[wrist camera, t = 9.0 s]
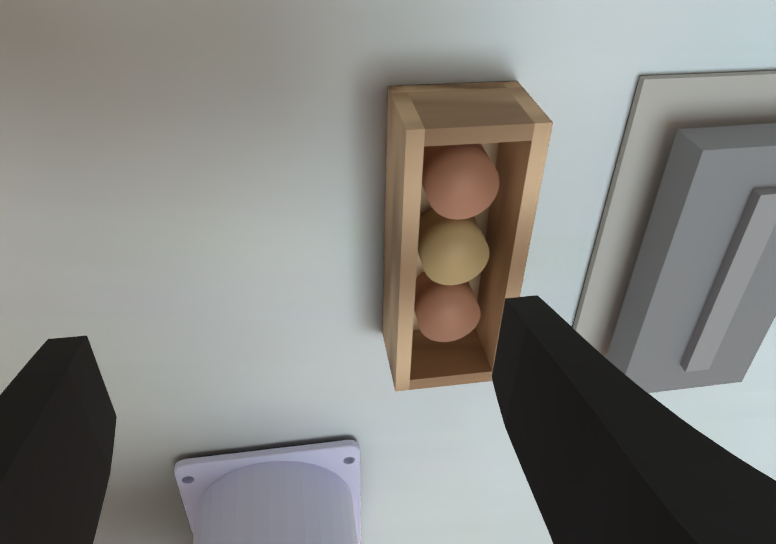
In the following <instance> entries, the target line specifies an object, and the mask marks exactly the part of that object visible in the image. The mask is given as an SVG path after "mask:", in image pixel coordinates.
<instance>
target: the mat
mask: <svg viewBox="0 0 776 544" xmlns="http://www.w3.org/2000/svg"><path fill="white" fill-rule="evenodd" d="M768 123H776V70H775V71H751V72H726V73H702V74H677V75H652V76H640V78H639V81H638V85H637V89H636V93H635V96H634V100H633V104H632V108H631V111H630V115H629V119H628V123H627V126H626V130H625V134H624V138H623V141H622V145H621V149H620V153H619V156H618V160H617V164H616V168H615V171H614V175H613V179H612V182H611V186H610V190H609V194H608V197H607V201H606V205H605V209H604V212H603V216H602V220H601V224H600V227H599V231H598V235H597V239H596V242H595V246H594V250H593V254H592V257H591V261H590V265H589V269H588V272H587V276H586V280H585V284H584V287H583V291H582V295H581V299H580V302H579V306H578V310H577V314H576V317H575V321H574V325H573V329H574V330H575V331H577V332H578V333H579V334H580V335H581V336H582V337H583V338H584V339H585V340H586V341H588V342H589V343H590V344H591V345H592V346H593V347H594V348H595V349H596V350H598V351H599V352H600V353H601V354H602V355H603V356H604V357H605V358H606V356H607V353H608V350H609V347H610V344H611V340H612V337H613V334H614V331H615V328H616V325H617V321H618V318H619V315H620V312H621V309H622V305H623V302H624V299H625V296H626V293H627V289H628V286H629V283H630V280H631V277H632V273H633V270H634V267H635V264H636V261H637V257H638V254H639V251H640V248H641V245H642V241H643V238H644V235H645V232H646V229H647V225H648V222H649V219H650V216H651V213H652V209H653V206H654V203H655V200H656V197H657V193H658V190H659V187H660V184H661V181H662V177H663V174H664V171H665V168H666V165H667V161H668V158H669V155H670V152H671V149H672V145H673V142H674V139H675V136H676V133H677V129H686V128H702V127H719V126H735V125H751V124H768Z"/></svg>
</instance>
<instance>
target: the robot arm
mask: <svg viewBox="0 0 776 544" xmlns="http://www.w3.org/2000/svg"><path fill="white" fill-rule="evenodd" d="M492 381H493V384H494V388H495V392H496V396H497V400H498V403H499V407H500V410H501V414H502V417H503V421H504V424H505V428H506V430H507V433H508V435H509V438H510V440H511V442H512V445H513V447H514V450H515V452H516V455H517V457H518V459H519V462H520V464H521V467H522V469H523V472H524V474H525V476H526V479H527V481H528V483H529V486H530V488H531V491H532V493H533V495H534V498H535V500H536V503H537V505H538V507H539V510H540V512H541V514H542V517H543V519H544V522H545V524H546V526H547V529H548V531H549V534H550V536H551V539H552V541H553V544H776V481H775V480H774V479H772V478H770V477H769V476H767V475H765V474H764V473H762V472H760V471H759V470H757V469H755V468H754V467H752V466H750V465H749V464H747V463H746V462H744V461H742V460H741V459H739V458H738V457H736V456H735V455H733V454H731V453H730V452H729V451H727V450H726V449H724V448H723V447H721V446H720V445H718V444H717V443H715V442H714V441H712V440H711V439H709V438H708V437H706V436H705V435H703V434H702V433H701V432H699V431H698V430H696V429H695V428H693V427H692V426H690V425H689V424H688V423H686V422H685V421H684V420H682V419H681V418H679V417H678V416H677V415H675V414H674V413H673V412H672V411H670V410H669V409H668V408H666V407H665V406H664V405H663V404H661V403H660V402H659V401H657V400H656V399H655V398H653V397H652V396H651V395H650V394H648V393H647V392H646V391H645V390H643V389H642V388H641V387H640V386H638V385H637V384H636V383H635V382H634V381H632V380H631V379H630V378H629V377H627V376H626V375H625V374H624V373H623V372H622V371H620V370H619V369H618V368H617V367H616V366H615V365H613V364H612V363H611V362H610V361H609V360H608V359H607V358H605V357H604V356H603V355H602V354H601V353H600V352H599V351H598V350H596V349H595V348H594V347H593V346H592V345H591V344H590V343H589V342H588V341H586V340H585V339H584V338H583V337H582V336H581V335H580V334H579V333H578V332H577V331H575V330H574V329H573V328H572V327H571V326H570V325H569V324H568V323H567V322H566V321H565V320H564V319H563V318H561V317H560V316H559V315H558V314H557V313H556V312H555V311H554V310H553V309H552V308H551V307H550V306H548V305H547V304H546V303H545V302H544V301H543V300H542V299H541V298H540V297H539V296H526V297H515V298H505V302H504V308H503V314H502V319H501V325H500V331H499V337H498V342H497V348H496V354H495V360H494V366H493V371H492ZM115 427H116V414H115V411H114V409H113V406H112V403H111V400H110V398H109V395H108V392H107V389H106V387H105V384H104V381H103V378H102V376H101V373H100V370H99V368H98V365H97V362H96V359H95V357H94V354H93V351H92V348H91V346H90V343H89V340H88V337H87V336H78V337H67V338H55V339H48V340H47V341H46V342H45V343H44V344H43V345H42V347H41V348H40V349H39V350H38V351H37V352H36V353H35V354H34V356H33V357H32V358H31V359H30V360H29V362H28V363H27V364H26V365H25V366H24V367H23V369H22V370H21V371H20V372H19V373H18V375H17V376H16V377H15V378H14V379H13V380H12V382H11V383H10V384H9V385H8V386H7V388H6V389H5V390H4V391H3V392H2V393H1V395H0V544H93V541H94V537H95V533H96V529H97V525H98V521H99V517H100V513H101V509H102V505H103V501H104V497H105V493H106V489H107V484H108V480H109V476H110V470H111V462H112V455H113V446H114V437H115ZM174 475H175V478H176V481H177V485H178V488H179V491H180V494H181V498H182V501H183V504H184V507H185V511H186V514H187V517H188V521H189V524H190V527H191V530H192V534H193V537H194V539H193V544H361V508H360V448H359V444H358V443H357V442H356V441H353V440H343V441H334V442H326V443H317V444H308V445H300V446H291V447H283V448H274V449H266V450H257V451H249V452H240V453H231V454H223V455H214V456H206V457H197V458H189V459H183V460H180V461H178V462H177V463H176V464H175V469H174Z"/></svg>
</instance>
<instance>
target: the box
mask: <svg viewBox="0 0 776 544" xmlns="http://www.w3.org/2000/svg"><path fill="white" fill-rule="evenodd" d="M552 125H553V122H552V121H551V120H550V119H549V117H548V116H547V115H546V114H545V113H544V112H543V110H542V109H541V108H540V107H539V106H538V105H537V103H536V102H535V101H534V100H533V99H532V97H531V96H530V95H529V94H528V93H527V92H526V90H525V89H524V88H523V87H522V86H521V85H520V83H519V82H518V81H505V82H480V83H455V84H431V85H406V86H388V106H387V153H386V199H385V246H384V292H383V338H384V342H385V347H386V351H387V356H388V360H389V365H390V369H391V374H392V378H393V383H394V387H395V391H403V390H412V389H421V388H431V387H440V386H449V385H458V384H468V383H477V382H486V381H492V371H493V366H494V360H495V354H496V348H497V342H498V337H499V331H500V325H501V319H502V314H503V308H504V302H505V298H515V297H520V292H521V287H522V282H523V277H524V271H525V266H526V261H527V256H528V250H529V245H530V240H531V235H532V229H533V224H534V219H535V214H536V208H537V203H538V198H539V193H540V187H541V182H542V177H543V172H544V167H545V161H546V156H547V151H548V146H549V140H550V135H551V130H552Z"/></svg>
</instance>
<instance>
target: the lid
mask: <svg viewBox="0 0 776 544" xmlns="http://www.w3.org/2000/svg"><path fill="white" fill-rule="evenodd" d="M775 316H776V123H768V124H751V125H735V126H719V127H702V128H686V129H677V133H676V136H675V139H674V142H673V145H672V149H671V152H670V155H669V158H668V161H667V165H666V168H665V171H664V174H663V177H662V181H661V184H660V187H659V190H658V193H657V197H656V200H655V203H654V206H653V209H652V213H651V216H650V219H649V222H648V225H647V229H646V232H645V235H644V238H643V241H642V245H641V248H640V251H639V254H638V257H637V261H636V264H635V267H634V270H633V273H632V277H631V280H630V283H629V286H628V289H627V293H626V296H625V299H624V302H623V305H622V309H621V312H620V315H619V318H618V321H617V325H616V328H615V331H614V334H613V337H612V340H611V344H610V347H609V350H608V353H607V356H606V358H607V359H608V360H609V361H610V362H611V363H612V364H613V365H615V366H616V367H617V368H618V369H619V370H620V371H622V372H623V373H624V374H625V375H626V376H627V377H629V378H630V379H631V380H632V381H634V382H635V383H636V384H637V385H638V386H640V387H641V388H642V389H643V390H645V391H646V392H647V393H652V392H660V391H668V390H677V389H685V388H694V387H702V386H710V385H719V384H727V383H735V382H742V380H743V378H744V376H745V374H746V372H747V370H748V369H749V367H750V365H751V363H752V361H753V359H754V357H755V355H756V353H757V351H758V349H759V347H760V345H761V343H762V341H763V339H764V337H765V335H766V333H767V331H768V329H769V328H770V326H771V324H772V322H773V320H774V318H775Z"/></svg>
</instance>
